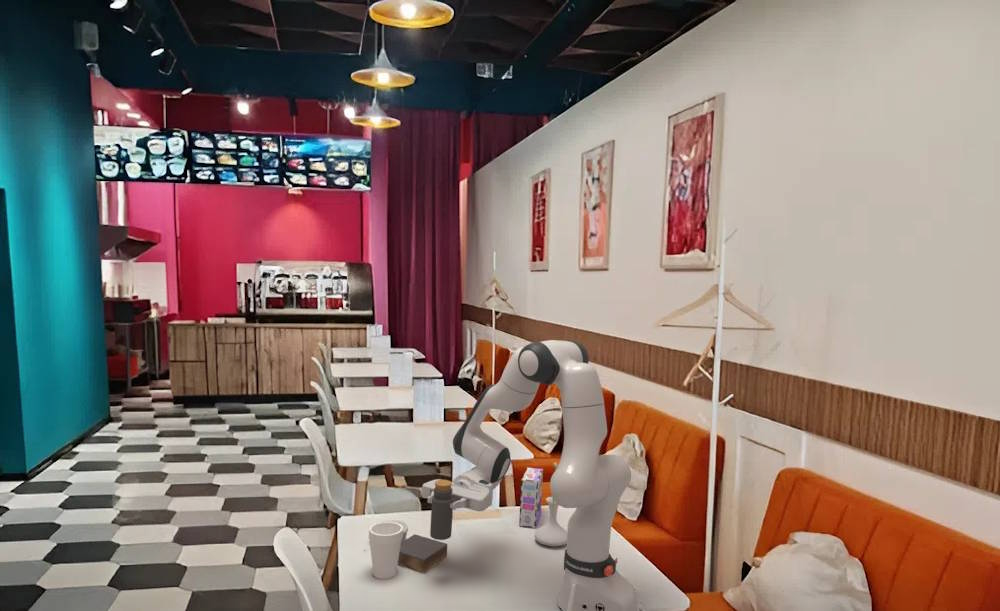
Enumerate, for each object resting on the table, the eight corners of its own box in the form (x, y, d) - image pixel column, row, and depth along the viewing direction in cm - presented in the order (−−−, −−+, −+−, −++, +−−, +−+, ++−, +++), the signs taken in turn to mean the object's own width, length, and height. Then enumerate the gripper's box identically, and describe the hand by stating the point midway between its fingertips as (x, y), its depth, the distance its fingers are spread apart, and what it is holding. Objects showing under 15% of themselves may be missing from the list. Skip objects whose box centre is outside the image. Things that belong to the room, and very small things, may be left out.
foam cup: (368, 583, 174) (370, 536, 173) (366, 567, 182) (367, 523, 182) (403, 579, 176) (405, 534, 175) (399, 564, 185) (401, 520, 184)
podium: (446, 556, 191) (447, 543, 191) (423, 573, 180) (424, 559, 180) (414, 546, 196) (414, 534, 196) (389, 562, 186) (390, 548, 186)
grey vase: (568, 551, 198) (572, 472, 196) (532, 547, 199) (535, 469, 198) (570, 534, 211) (574, 460, 209) (536, 530, 212) (539, 457, 211)
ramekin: (374, 535, 204) (374, 519, 203) (409, 535, 204) (409, 519, 204) (368, 551, 193) (369, 534, 192) (405, 551, 193) (406, 535, 193)
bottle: (425, 536, 174) (428, 483, 173) (437, 529, 180) (440, 477, 178) (443, 542, 172) (446, 488, 171) (455, 534, 177) (458, 481, 176)
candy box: (535, 529, 214) (538, 481, 212) (518, 526, 215) (520, 479, 214) (541, 513, 227) (543, 468, 226) (525, 511, 228) (527, 466, 227)
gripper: (437, 470, 191) (410, 484, 179) (497, 485, 181) (472, 500, 169) (436, 491, 192) (409, 506, 179) (496, 506, 182) (471, 523, 170)
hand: (440, 503), depth 174 cm, fingers closed on bottle, 6 cm apart
